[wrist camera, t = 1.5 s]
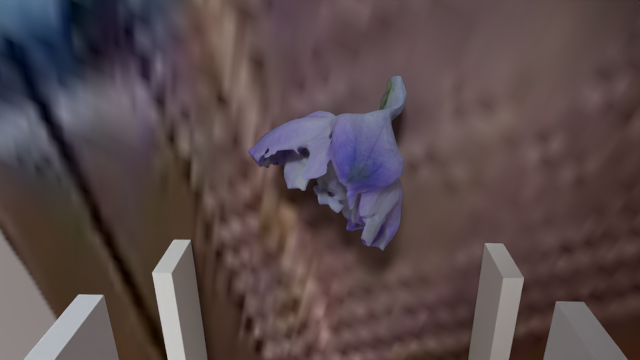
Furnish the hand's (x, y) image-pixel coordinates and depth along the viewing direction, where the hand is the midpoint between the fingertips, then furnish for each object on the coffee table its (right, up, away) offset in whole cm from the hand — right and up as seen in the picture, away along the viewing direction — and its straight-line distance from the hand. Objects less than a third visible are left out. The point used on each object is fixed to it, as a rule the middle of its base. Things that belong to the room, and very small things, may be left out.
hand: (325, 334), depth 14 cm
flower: (+1, +8, +15) cm, 17 cm away
